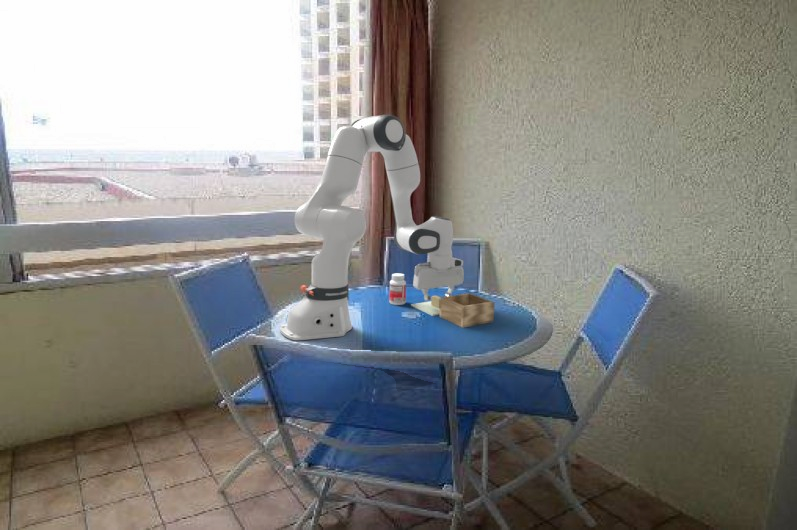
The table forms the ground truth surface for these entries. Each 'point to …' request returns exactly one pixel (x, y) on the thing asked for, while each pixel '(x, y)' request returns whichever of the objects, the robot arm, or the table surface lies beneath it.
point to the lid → (429, 306)
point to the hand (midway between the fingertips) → (437, 298)
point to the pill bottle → (397, 289)
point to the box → (466, 310)
